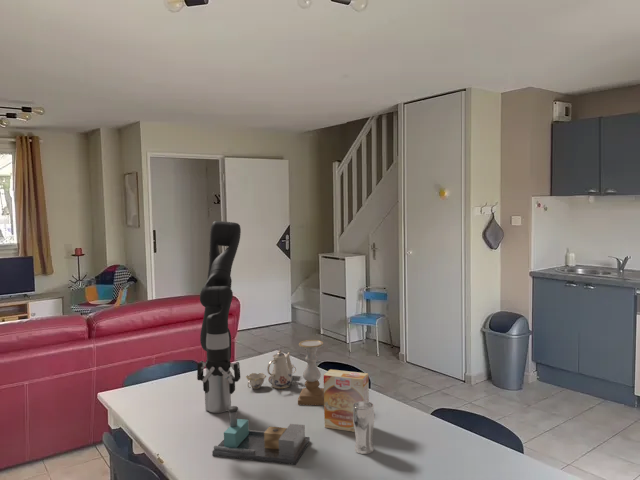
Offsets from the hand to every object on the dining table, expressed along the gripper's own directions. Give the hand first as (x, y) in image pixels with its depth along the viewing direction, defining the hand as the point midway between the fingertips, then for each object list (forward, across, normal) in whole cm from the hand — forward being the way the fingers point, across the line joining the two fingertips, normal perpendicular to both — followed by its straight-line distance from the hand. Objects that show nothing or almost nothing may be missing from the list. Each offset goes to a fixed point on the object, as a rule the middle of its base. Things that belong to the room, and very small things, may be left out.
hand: (219, 392), depth 173 cm
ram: (+16, -6, +1) cm, 17 cm away
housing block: (+16, -20, +2) cm, 25 cm away
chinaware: (+19, -6, -59) cm, 62 cm away
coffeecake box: (+18, -41, -17) cm, 48 cm away
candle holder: (+18, -25, -41) cm, 51 cm away
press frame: (+18, -15, +2) cm, 23 cm away
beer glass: (+17, -48, 0) cm, 51 cm away
